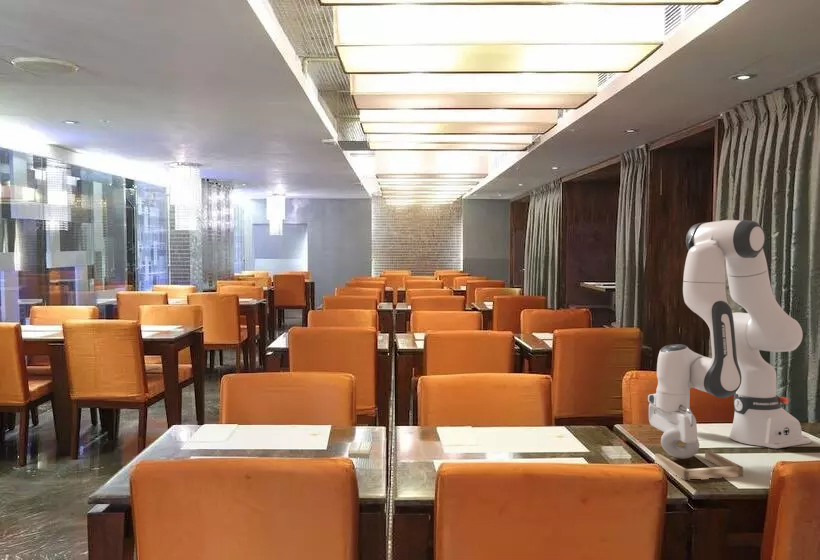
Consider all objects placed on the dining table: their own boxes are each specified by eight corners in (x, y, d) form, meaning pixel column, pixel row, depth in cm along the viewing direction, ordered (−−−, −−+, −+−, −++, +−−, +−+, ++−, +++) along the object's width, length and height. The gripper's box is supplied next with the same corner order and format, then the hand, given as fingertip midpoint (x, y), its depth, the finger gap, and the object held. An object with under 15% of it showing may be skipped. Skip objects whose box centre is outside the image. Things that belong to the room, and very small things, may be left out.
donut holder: (708, 458, 183) (708, 450, 183) (742, 476, 169) (742, 466, 169) (654, 462, 181) (654, 453, 181) (684, 480, 166) (684, 471, 166)
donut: (700, 454, 182) (698, 427, 178) (699, 463, 179) (698, 435, 175) (662, 450, 187) (660, 423, 183) (661, 458, 184) (658, 431, 180)
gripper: (704, 410, 175) (702, 460, 176) (664, 393, 196) (663, 439, 196) (682, 410, 175) (680, 461, 175) (645, 394, 195) (644, 440, 195)
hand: (671, 449), depth 186 cm, fingers closed
